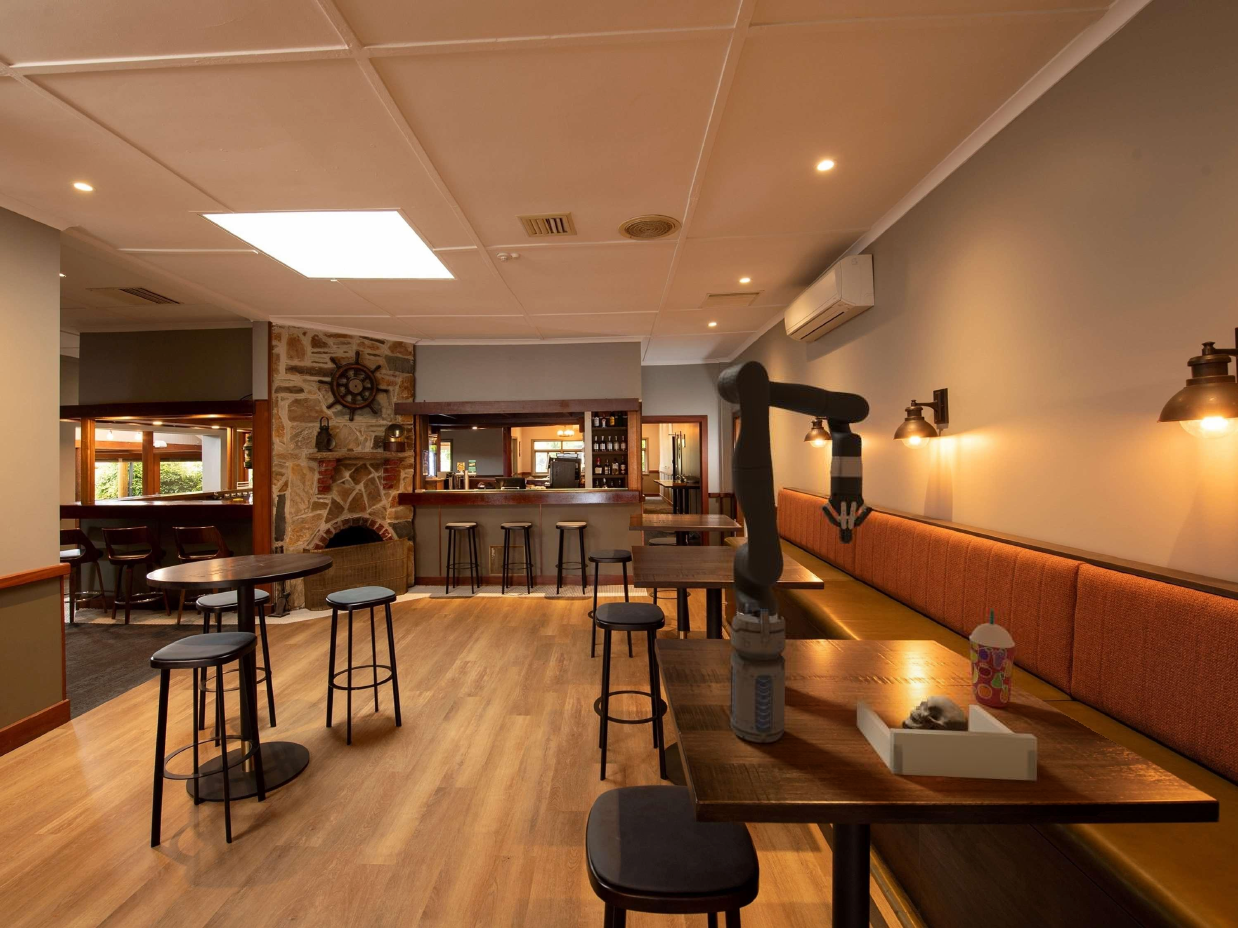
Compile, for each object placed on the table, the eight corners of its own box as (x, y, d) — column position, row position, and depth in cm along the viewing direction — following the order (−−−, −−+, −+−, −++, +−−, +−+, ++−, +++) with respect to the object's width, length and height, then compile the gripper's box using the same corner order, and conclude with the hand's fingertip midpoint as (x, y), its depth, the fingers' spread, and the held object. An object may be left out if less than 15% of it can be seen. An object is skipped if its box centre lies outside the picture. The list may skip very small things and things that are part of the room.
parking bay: (893, 773, 95) (893, 732, 95) (856, 725, 113) (857, 690, 113) (1036, 780, 94) (1037, 738, 93) (977, 730, 111) (977, 694, 111)
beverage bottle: (772, 715, 117) (773, 594, 117) (792, 748, 103) (794, 611, 103) (723, 715, 117) (724, 594, 116) (737, 747, 103) (738, 611, 103)
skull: (891, 731, 108) (902, 681, 113) (905, 753, 114) (915, 705, 119) (962, 752, 100) (971, 697, 105) (974, 775, 105) (982, 721, 110)
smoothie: (1000, 695, 128) (1001, 607, 128) (1022, 711, 120) (1024, 617, 120) (961, 693, 129) (962, 605, 129) (981, 709, 120) (982, 615, 120)
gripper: (823, 475, 139) (823, 545, 140) (879, 475, 139) (878, 546, 139) (815, 474, 147) (814, 540, 147) (867, 474, 146) (867, 541, 146)
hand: (845, 543), depth 143 cm, fingers closed
